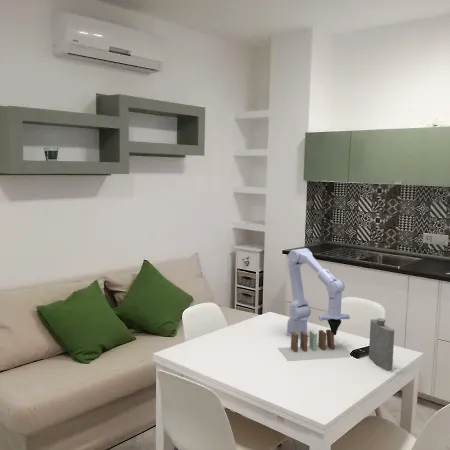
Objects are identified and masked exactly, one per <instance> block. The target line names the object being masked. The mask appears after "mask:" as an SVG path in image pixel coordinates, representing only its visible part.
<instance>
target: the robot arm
mask: <svg viewBox="0 0 450 450" xmlns="http://www.w3.org/2000/svg"><path fill="white" fill-rule="evenodd" d="M287 255H288V257H287V258H288V273H289V278H290V287H291V292H292V293H291V294H292V301H291V303H290V304H289V315H290V317H289V318H288V320H287V326H286V328H287V329H286V331H287V332H286V336H287V337H291V332H296V333H297V334H298V340H300V337H301V331H304V332H305V333H307V334H308V319H309V317H310V316H311V314H312V310H311V307H310V305H309V301H308V300H307V299H305V295H304V287H303V281H302V274H301V267H302V266H303V265H304V264H307V265H308V266H309V267H310V268H311V269H312V270H314V272H316V273H317V278H318V279H319V280H320V281H321V283H323V284H324V286H326V291H327V296H328V310H327V311H328V312H327V314H322V315H318V320H319V321H320V322H323V321H327V323H328V325H329V328H330V330H331V331H332V332H333V333H334V336H336V335H337V333H338V330H339V327H340V325H341V324H342V320H350V318H351V316H350V314H348V313H341V312H342V298H343V297H342V295H343V294H342V293H343V292H344V290H345V287H346V286H345V284H344V281H343V280H341V279H338V278H337V277H335V276H334V275H333V274H332V272H331V271H330V270H329V269H328V268H323V267H322V265H321V264H320V263H319V262H318V260H317V259H316V258H315V257H314V256H313V252H311V250H310V249H309V248H307V247H304V248H298V249H292V250H290V251H289V253H288V254H287ZM308 338H310V334H308Z"/></svg>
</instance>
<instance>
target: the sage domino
mask: <svg viewBox="0 0 450 450" xmlns="http://www.w3.org/2000/svg"><path fill="white" fill-rule="evenodd" d="M309 335H310V336H309V340H308V341H309V342H308V343H309V345H308V346H309V347H310V348H311V349H312V350H313V351H316V346H318V345H317V343H318V340H317V339H318V333H316V332H315V330H309Z"/></svg>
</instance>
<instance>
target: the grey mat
mask: <svg viewBox="0 0 450 450" xmlns="http://www.w3.org/2000/svg"><path fill="white" fill-rule="evenodd" d="M334 345H335V349H334V350H331V349H330V348H329V347H328V346H327V344H326V350H323V351H322V350H321V349H320V348H319V347H318V345H317V346H316V351H313V350H312V349H311V348H310V347H309V345H307V352H304V351H303V350H302V349H301V348H300V346H298V352H294V351H293V350H292V349H291V346H287V347H277V350H278V351H279V352H280V353H281V354H282V356H283V357H284V358H285V359H286V361H287V362H296V361H298V362H299V361H310V360H313V361H315V360H326V359H339V358H341V359H342V358H343V359H344V358H353V356H351V355H350V353H351V351H350V350H349V349H348V348H347V347H345V346H344V345H343V343H334Z"/></svg>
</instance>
